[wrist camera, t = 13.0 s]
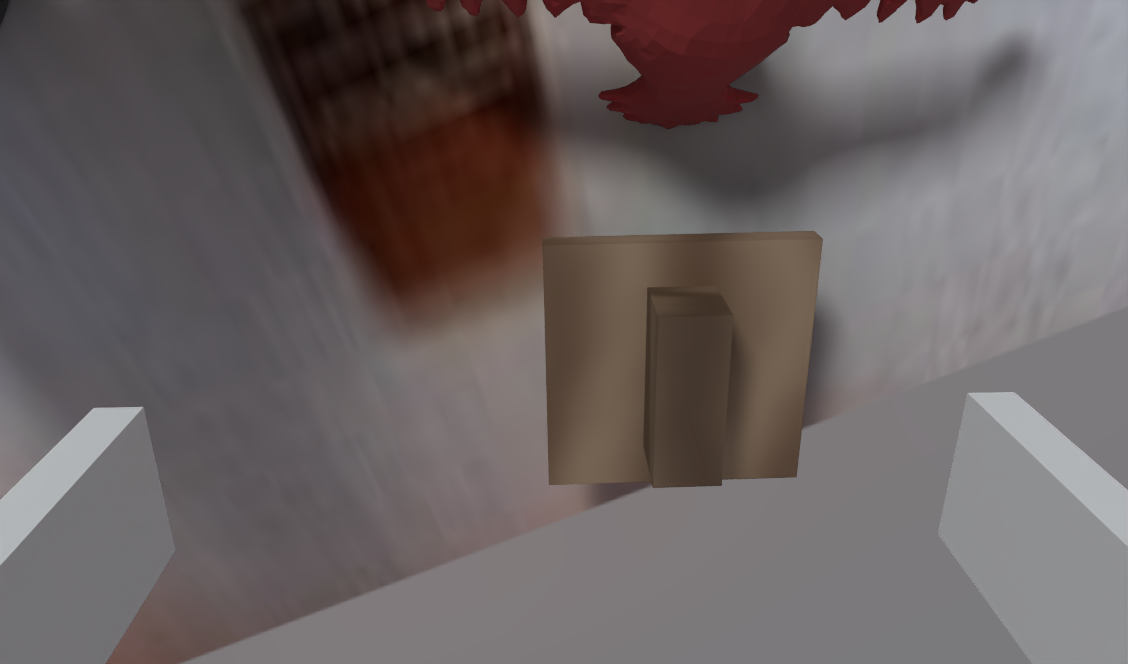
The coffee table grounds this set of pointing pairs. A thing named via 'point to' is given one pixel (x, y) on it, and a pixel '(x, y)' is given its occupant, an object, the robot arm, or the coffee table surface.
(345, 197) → the coffee table surface
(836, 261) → the coffee table surface
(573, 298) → the walnut lid
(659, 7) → the decorative bird sculpture
